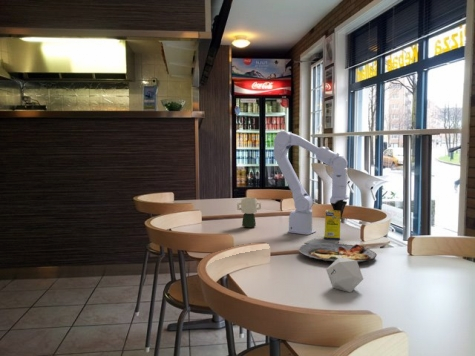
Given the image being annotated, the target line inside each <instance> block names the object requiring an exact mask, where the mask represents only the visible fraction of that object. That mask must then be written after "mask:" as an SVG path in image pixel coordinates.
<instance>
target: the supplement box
mask: <svg viewBox="0 0 475 356" xmlns="http://www.w3.org/2000/svg"><path fill="white" fill-rule="evenodd" d="M324 211H325V213H324V240H331V241H337V240H338V241H340V240H341V219H340V217H341V212H340V211H338V210H333V209H325V210H324Z"/></svg>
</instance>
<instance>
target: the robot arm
mask: <svg viewBox="0 0 475 356" xmlns="http://www.w3.org/2000/svg"><path fill="white" fill-rule="evenodd" d="M292 146H298V147H300V148H302V149H304V150H306V151H309V152H310V153H313V154H314V156H315V159H317V160H318V161H320V162H322V163H324V164H325V165H327V166H329V167H330V166H331V167H332V176H331V177H332V179H331V197H330V198H329V203H330V205H331V207H332V210H338V211H340V212H341V217H340V220H341V219H342V218H343V214H344V211H345V207H346V206H347V204H348V202H347V200H349V199H350V197H349V196H348V194H347V186H348V185H347V182H348V181H347V180H348V178H347V177H348V175H347V172H348V171H347V167H348V164H349V163H348V162H349V161H348V159H346V157H344V156H343V155H340V154H339V153H338V152H337V153H336V152H334V151H332V150H330V147H328V146H320V147H318V146H317V145H315V144H314V143H312V142H310V141H309V140H307V139H305V138H303V137H302V136H300V135H298V134H296V133H292V131H284V130H281V131H278V132H277V133H276V134H275V137H274V138H273V157H274V159H275V161H276V164H277V166H278V167H279V169H280V171H281V173H282V175H283V177H284V180H285V181H286V183H287V186H288V188H289V190H290V192H291V193H292V199H293V201H294V208H295V210H292V211H291V212H289V216H288V231H287V232H288V233H292V234H300V235H306V236H307V235H308V236H309V235H311V234H314V233H316V232H317V231H316V230H313V211H314V210H313V209H312V207H313V205H314V199H313V198H312V196H311V195H309V194H308V192H307V191H306V189H305V188H304V187H303V185H302V184H301V182H300V179H299V177H298V175H297V173H296V171H295V170H294V168H293V165H292V164H291V162H290V160H289V157H288V156H287V155H288V153H289V150H290V148H291V147H292Z"/></svg>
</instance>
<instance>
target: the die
mask: <svg viewBox="0 0 475 356" xmlns="http://www.w3.org/2000/svg"><path fill="white" fill-rule="evenodd" d="M325 271H326V274H327V276H328V279H329V282H330V284H331V286H332V288H333V289H335V290H339V291H344V292H347V293H351V292H352V291H354V289H356V287H357V286H358V285H360V284H361V282H363V280H364V277H363V274H362V272H361V268H360V266H359V262H357V261H356V260H351V259H346V258H342V257H339V258H338V259H337V260H336V261H332V263H331V264H330V265H329V266H328V267H327V268H326V270H325Z"/></svg>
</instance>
